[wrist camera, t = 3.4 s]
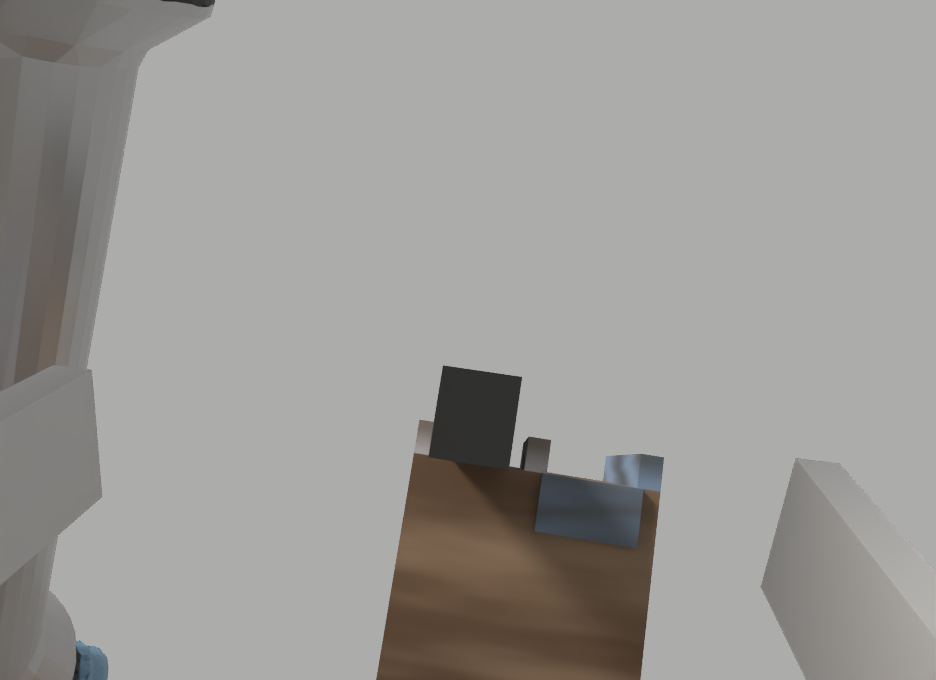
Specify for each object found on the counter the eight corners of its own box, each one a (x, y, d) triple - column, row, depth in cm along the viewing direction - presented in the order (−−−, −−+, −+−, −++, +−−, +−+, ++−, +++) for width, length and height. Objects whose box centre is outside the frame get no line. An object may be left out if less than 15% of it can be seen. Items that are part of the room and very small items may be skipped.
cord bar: (508, 470, 22) (521, 376, 22) (428, 457, 22) (443, 365, 22) (508, 466, 42) (515, 418, 43) (467, 459, 43) (474, 411, 43)
